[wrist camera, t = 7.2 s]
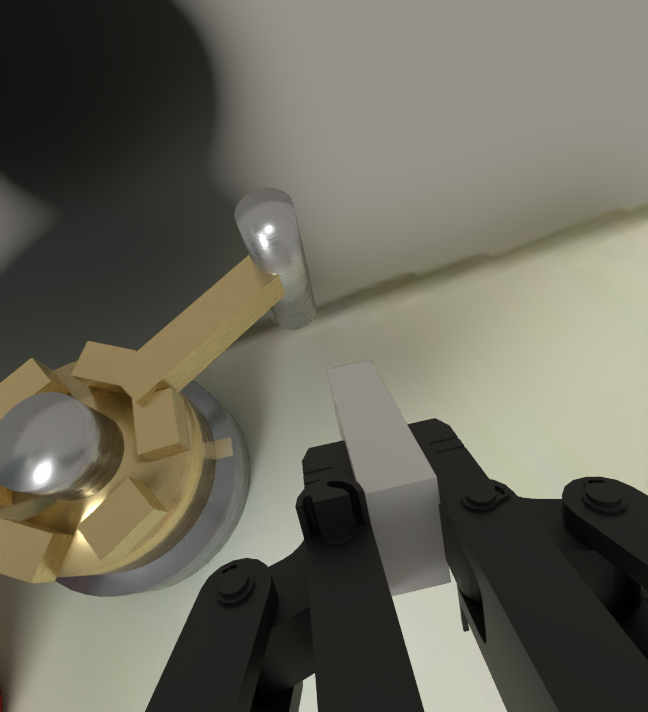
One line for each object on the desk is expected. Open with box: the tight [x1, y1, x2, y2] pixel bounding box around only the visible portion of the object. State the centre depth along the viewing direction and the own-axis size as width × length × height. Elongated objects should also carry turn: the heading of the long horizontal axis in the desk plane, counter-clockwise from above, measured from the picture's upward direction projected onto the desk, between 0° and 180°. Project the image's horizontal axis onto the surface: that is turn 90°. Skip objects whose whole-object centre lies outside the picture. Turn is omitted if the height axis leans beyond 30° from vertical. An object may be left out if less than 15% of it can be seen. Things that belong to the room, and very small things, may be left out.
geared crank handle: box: [0, 188, 316, 583], centre depth 21 cm, size 19×10×9 cm, turn 136°
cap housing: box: [56, 381, 250, 597], centre depth 25 cm, size 12×12×3 cm
